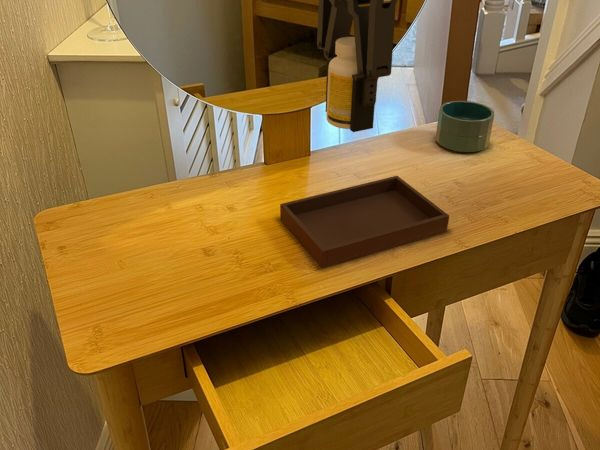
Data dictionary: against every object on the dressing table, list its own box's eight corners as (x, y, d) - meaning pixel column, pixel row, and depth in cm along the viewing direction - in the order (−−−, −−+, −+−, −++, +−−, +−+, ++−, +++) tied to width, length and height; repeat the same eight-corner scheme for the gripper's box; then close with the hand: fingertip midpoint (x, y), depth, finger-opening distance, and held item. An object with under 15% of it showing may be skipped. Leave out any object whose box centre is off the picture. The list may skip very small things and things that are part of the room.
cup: (496, 141, 109) (502, 109, 106) (474, 159, 103) (480, 125, 100) (449, 128, 114) (454, 96, 111) (426, 144, 108) (430, 112, 105)
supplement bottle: (374, 129, 74) (381, 48, 69) (329, 131, 74) (332, 49, 69) (366, 112, 79) (371, 34, 74) (323, 113, 78) (325, 35, 73)
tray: (395, 190, 95) (397, 175, 93) (447, 231, 85) (449, 215, 84) (280, 219, 87) (280, 203, 86) (322, 268, 78) (322, 251, 76)
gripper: (287, -100, 69) (288, 99, 82) (376, -80, 55) (360, 156, 68) (346, -103, 72) (338, 90, 85) (445, -84, 58) (417, 143, 71)
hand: (348, 119), depth 76 cm, fingers closed on supplement bottle, 5 cm apart
